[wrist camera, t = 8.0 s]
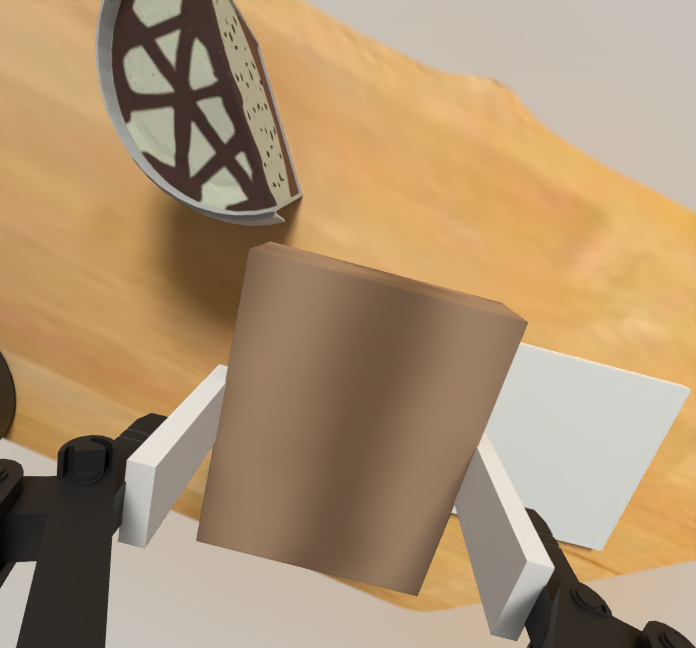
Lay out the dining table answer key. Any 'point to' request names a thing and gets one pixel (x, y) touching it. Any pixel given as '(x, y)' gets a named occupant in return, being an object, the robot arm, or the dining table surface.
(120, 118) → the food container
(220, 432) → the walnut board
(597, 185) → the dining table surface
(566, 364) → the rubber mat
